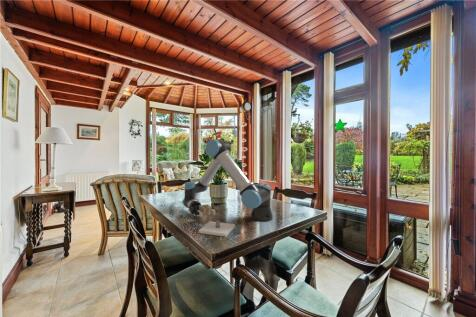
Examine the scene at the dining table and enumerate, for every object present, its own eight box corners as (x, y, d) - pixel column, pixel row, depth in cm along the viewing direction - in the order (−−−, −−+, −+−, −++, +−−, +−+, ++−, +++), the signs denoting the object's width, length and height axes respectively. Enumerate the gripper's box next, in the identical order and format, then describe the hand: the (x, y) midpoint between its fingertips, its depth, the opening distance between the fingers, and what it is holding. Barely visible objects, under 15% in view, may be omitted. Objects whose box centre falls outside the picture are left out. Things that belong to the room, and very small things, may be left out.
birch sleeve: (207, 219, 141) (207, 204, 141) (211, 221, 136) (211, 206, 136) (198, 220, 138) (199, 205, 138) (202, 223, 133) (203, 207, 133)
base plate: (235, 226, 128) (235, 218, 128) (226, 236, 113) (226, 227, 113) (210, 223, 133) (210, 215, 133) (198, 232, 117) (198, 223, 117)
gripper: (207, 209, 158) (223, 217, 139) (180, 213, 146) (192, 222, 127) (207, 199, 157) (223, 205, 138) (180, 202, 146) (192, 210, 127)
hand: (208, 213), depth 133 cm, fingers open, 8 cm apart
